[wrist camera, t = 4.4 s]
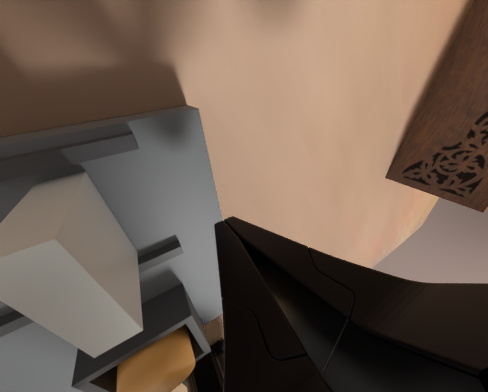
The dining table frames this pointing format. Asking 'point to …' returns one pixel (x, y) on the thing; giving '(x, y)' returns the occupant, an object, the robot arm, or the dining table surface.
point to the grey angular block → (71, 265)
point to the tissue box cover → (453, 124)
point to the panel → (135, 227)
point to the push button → (158, 365)
